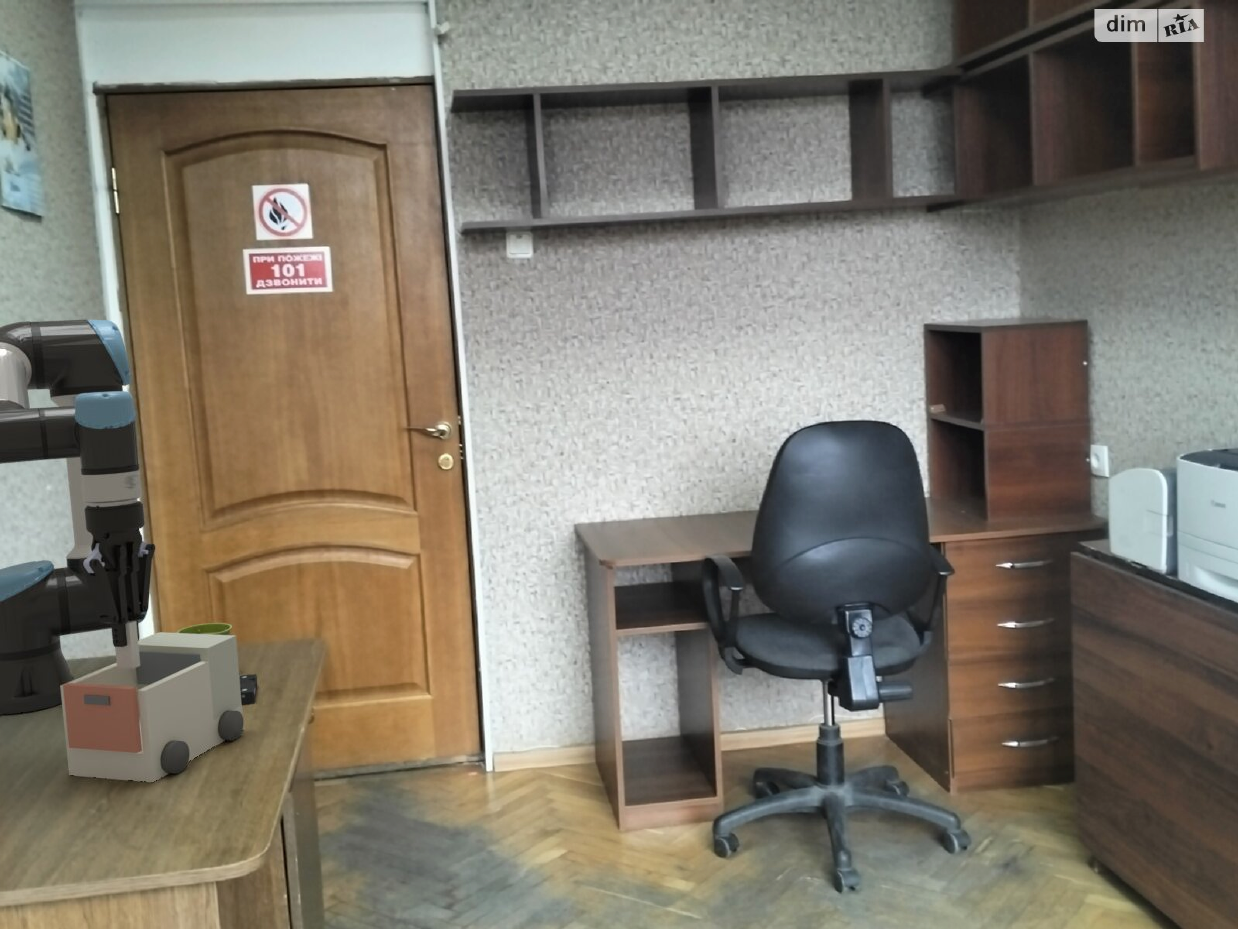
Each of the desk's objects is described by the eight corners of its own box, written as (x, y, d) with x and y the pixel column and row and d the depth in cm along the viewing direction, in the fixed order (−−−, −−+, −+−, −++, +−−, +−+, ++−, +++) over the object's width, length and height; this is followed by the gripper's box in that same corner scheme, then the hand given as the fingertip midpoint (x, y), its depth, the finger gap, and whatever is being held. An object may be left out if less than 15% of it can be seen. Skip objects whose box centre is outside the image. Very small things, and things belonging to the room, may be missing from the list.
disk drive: (257, 689, 200) (167, 698, 196) (256, 673, 200) (166, 682, 196) (255, 707, 190) (160, 717, 186) (254, 690, 190) (159, 700, 186)
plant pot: (182, 672, 210) (178, 626, 209) (236, 665, 213) (232, 620, 212) (178, 686, 201) (174, 638, 200) (235, 679, 204) (231, 632, 203)
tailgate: (67, 748, 159) (61, 685, 158) (74, 745, 160) (68, 682, 159) (135, 753, 156) (129, 689, 155) (141, 750, 157) (136, 686, 156)
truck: (60, 774, 161) (50, 671, 160) (159, 724, 181) (151, 632, 180) (162, 783, 157) (152, 677, 155) (251, 730, 177) (243, 635, 175)
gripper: (102, 509, 153) (119, 681, 155) (166, 495, 165) (180, 655, 168) (56, 509, 155) (73, 679, 157) (123, 495, 167) (137, 653, 170)
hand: (128, 666), depth 162 cm, fingers closed
